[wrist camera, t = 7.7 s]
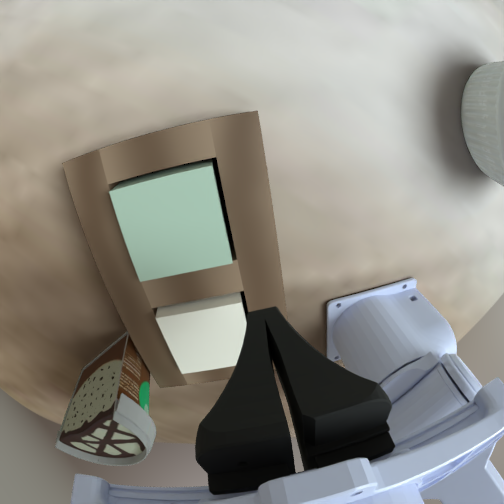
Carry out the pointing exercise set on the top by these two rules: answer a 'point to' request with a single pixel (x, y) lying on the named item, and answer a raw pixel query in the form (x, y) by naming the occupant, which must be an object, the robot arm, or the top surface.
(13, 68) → the top surface
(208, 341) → the cream key
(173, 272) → the sage key
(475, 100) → the ramekin
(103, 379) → the food container
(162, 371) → the key console
